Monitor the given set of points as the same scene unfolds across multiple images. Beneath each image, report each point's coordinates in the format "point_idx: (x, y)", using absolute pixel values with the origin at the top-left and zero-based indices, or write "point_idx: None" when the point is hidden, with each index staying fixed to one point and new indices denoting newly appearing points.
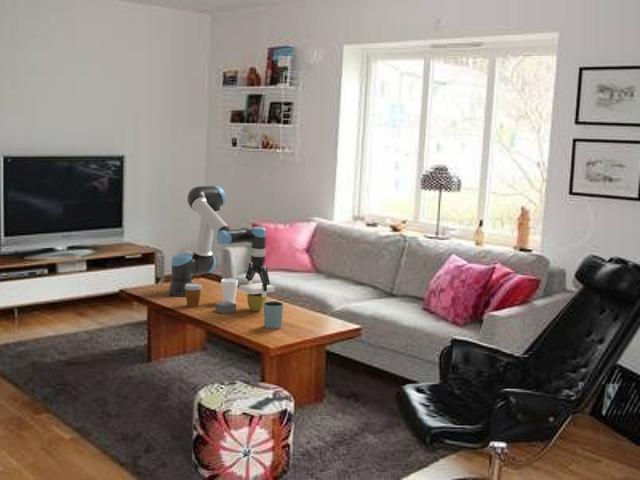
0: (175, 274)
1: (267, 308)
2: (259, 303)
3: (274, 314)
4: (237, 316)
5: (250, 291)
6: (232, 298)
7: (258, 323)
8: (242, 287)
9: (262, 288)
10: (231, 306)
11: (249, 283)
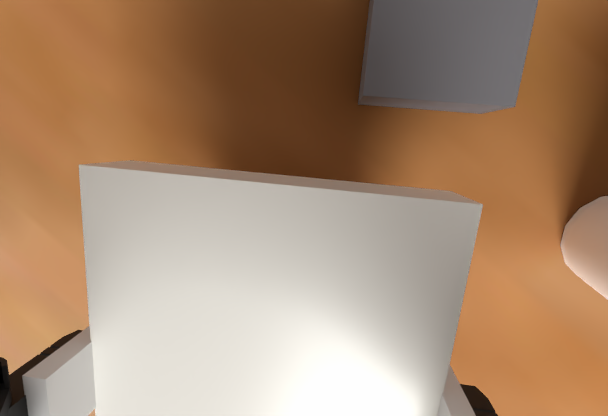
0: None
1: None
2: None
3: None
4: (237, 19)
5: (150, 166)
6: (594, 248)
7: (10, 30)
8: (376, 191)
9: (68, 342)
10: (368, 41)
11: (443, 414)
